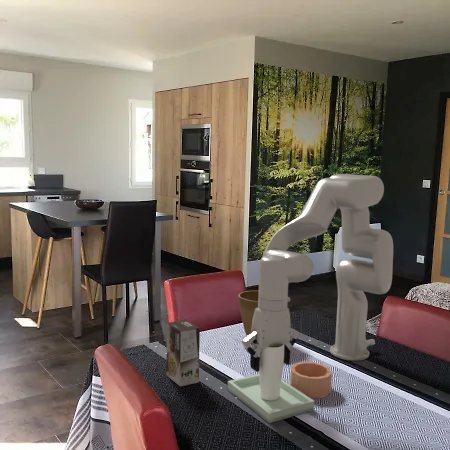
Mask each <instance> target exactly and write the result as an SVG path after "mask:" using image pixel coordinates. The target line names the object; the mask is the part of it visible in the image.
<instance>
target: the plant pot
mask: <svg viewBox="0 0 450 450" xmlns="http://www.w3.org/2000/svg"><path fill="white" fill-rule="evenodd" d="M258 296H259V290H246V291H242V292H240V293H239V294H238V302H239V310H240V316H241V322H242V325H243V328H244V333H245V336H246V338H247V337H248V336H249V335H250V334H251V328H252V320H253V315H254V312H255V308H258Z"/></svg>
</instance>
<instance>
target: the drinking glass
mask: <svg viewBox="0 0 450 450" xmlns="http://www.w3.org/2000/svg"><path fill="white" fill-rule="evenodd" d="M258 356H259V357H260V370H259V372H258V374H259V380H260V396H261V398H263V399H265V400H268V401H273V400H277V399H278V398H279V396H280V386H281V379H282V378H283V370H284V369H283V368H284V364H285V363H284V344H283V345H281V346H277V347H267V348H266V349H262V351H261V352H260V354H259V355H258Z"/></svg>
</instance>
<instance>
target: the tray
mask: <svg viewBox="0 0 450 450" xmlns="http://www.w3.org/2000/svg"><path fill="white" fill-rule="evenodd" d="M227 391H228V392H230V394H232V395H233V396H234V397H236V398H237V399H239V401H241V402H242V403H243V404H245V405H246V406H247V408H249V409H250V410H252V412H254V413H256V414H257V415H258V416H259V417H260V418H262V419H263V420H264V421H265V422H266V423H267V424H272V423H275V422H278V421H282V420H284V419H288V418H292V417H294V416H300V415H302V414H306V413H309V412H312V411H314V410H315V400H314V399H313V398H309V397H308V396H306V395H305V394H303V393H302V392H300V391H298V390H297V389H295V388H294V387H292V386H291V385H290V383H288V382H286V380H285V381H284V380H283V379H282V378H281V386H280V396H279V398H278V399H277V400H273V401H268V400H265V399H263V398H261V396H260V380H259V373H257V374H254V375H253V374H252V375H248V376H244V377H239V378H235V379H231V380H227Z"/></svg>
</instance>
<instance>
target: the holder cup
mask: <svg viewBox="0 0 450 450" xmlns="http://www.w3.org/2000/svg"><path fill="white" fill-rule="evenodd" d="M289 374H290V376H289V385H291V386H292V387H294V388H295V389H297V390H298V391H300V392H302V393H303V394H305V395H306V396H308V397H309V398H311V399H320V398H325V397H328V396H329V394H330V393H331V392H332V379H333V372H332V370H331V368H330V367H329V366H326V365H325V364H323V363H319V362H314V361H300V362H297V363H295V362H294V363H293V365H292V366H290V373H289Z"/></svg>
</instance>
